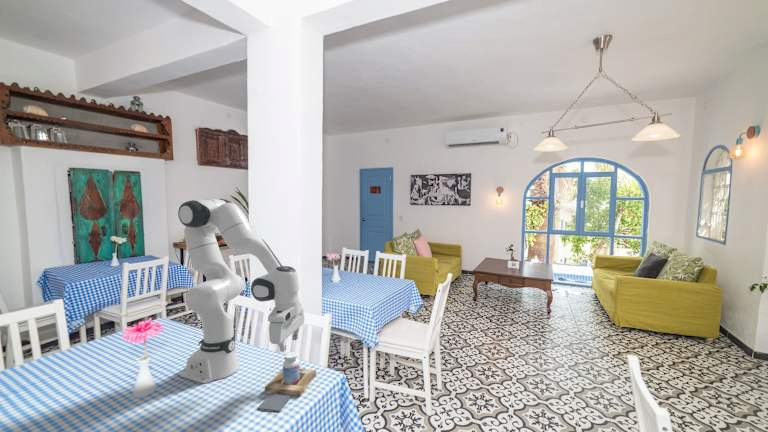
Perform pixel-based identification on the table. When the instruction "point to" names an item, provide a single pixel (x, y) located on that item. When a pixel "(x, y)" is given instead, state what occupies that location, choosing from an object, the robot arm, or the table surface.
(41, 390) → the table surface
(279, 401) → the coaster
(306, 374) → the holder
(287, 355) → the pill bottle
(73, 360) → the table surface
